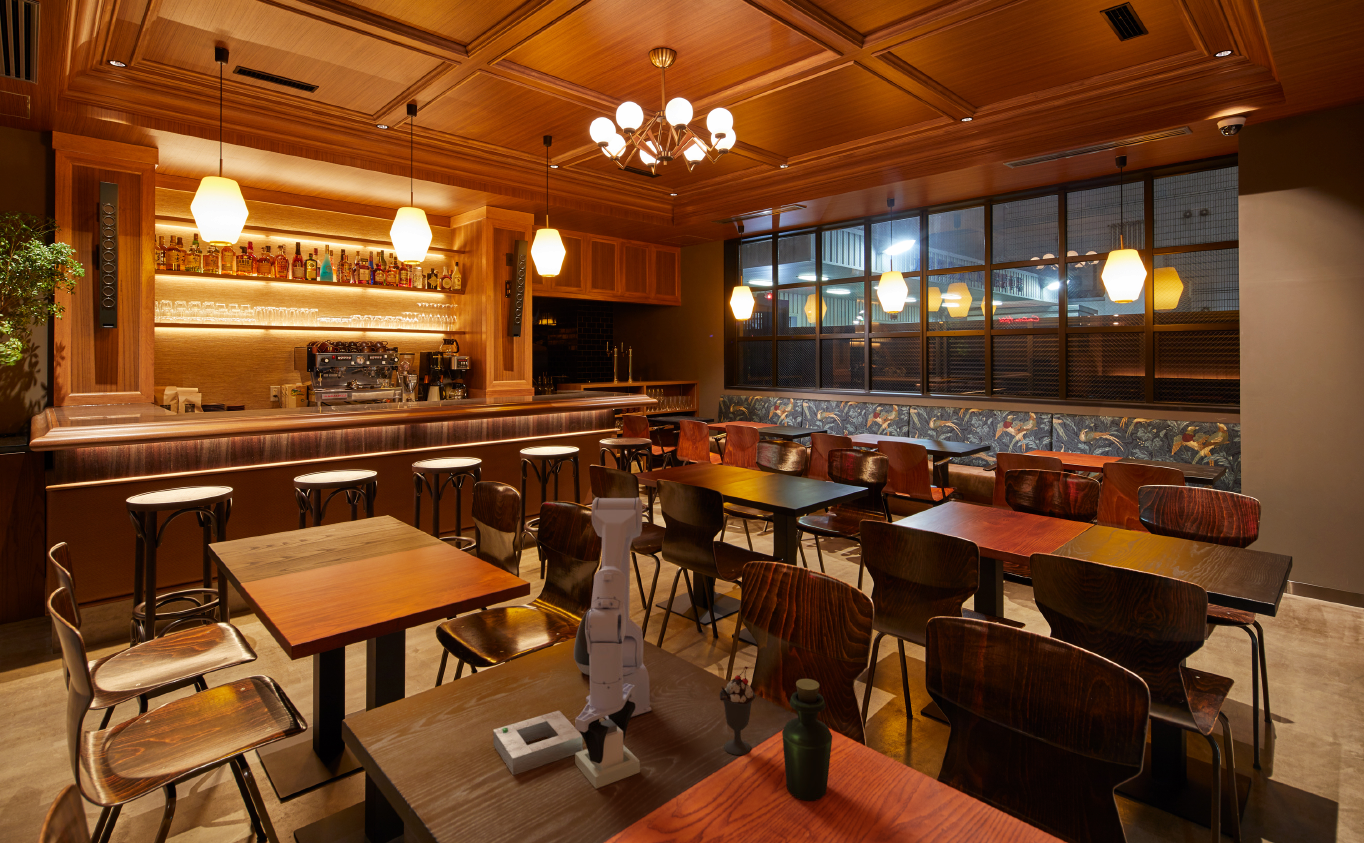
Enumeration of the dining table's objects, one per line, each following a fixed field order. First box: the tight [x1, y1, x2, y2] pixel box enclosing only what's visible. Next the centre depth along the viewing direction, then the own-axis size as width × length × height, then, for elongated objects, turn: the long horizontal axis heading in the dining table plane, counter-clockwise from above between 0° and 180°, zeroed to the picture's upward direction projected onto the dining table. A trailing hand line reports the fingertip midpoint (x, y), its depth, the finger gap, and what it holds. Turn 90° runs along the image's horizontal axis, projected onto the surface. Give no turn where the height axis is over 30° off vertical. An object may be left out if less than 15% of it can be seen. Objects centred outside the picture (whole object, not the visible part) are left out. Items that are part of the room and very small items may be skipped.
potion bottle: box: [782, 678, 833, 802], centre depth 108 cm, size 8×8×18 cm
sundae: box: [719, 665, 757, 756], centre depth 121 cm, size 7×7×15 cm
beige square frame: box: [574, 744, 641, 790], centre depth 115 cm, size 8×8×2 cm
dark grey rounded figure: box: [573, 607, 591, 676], centre depth 152 cm, size 10×10×15 cm
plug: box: [591, 719, 624, 771], centre depth 115 cm, size 4×4×8 cm
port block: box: [492, 710, 584, 776], centre depth 121 cm, size 13×11×3 cm
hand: (607, 751), depth 115 cm, fingers closed on plug, 6 cm apart
